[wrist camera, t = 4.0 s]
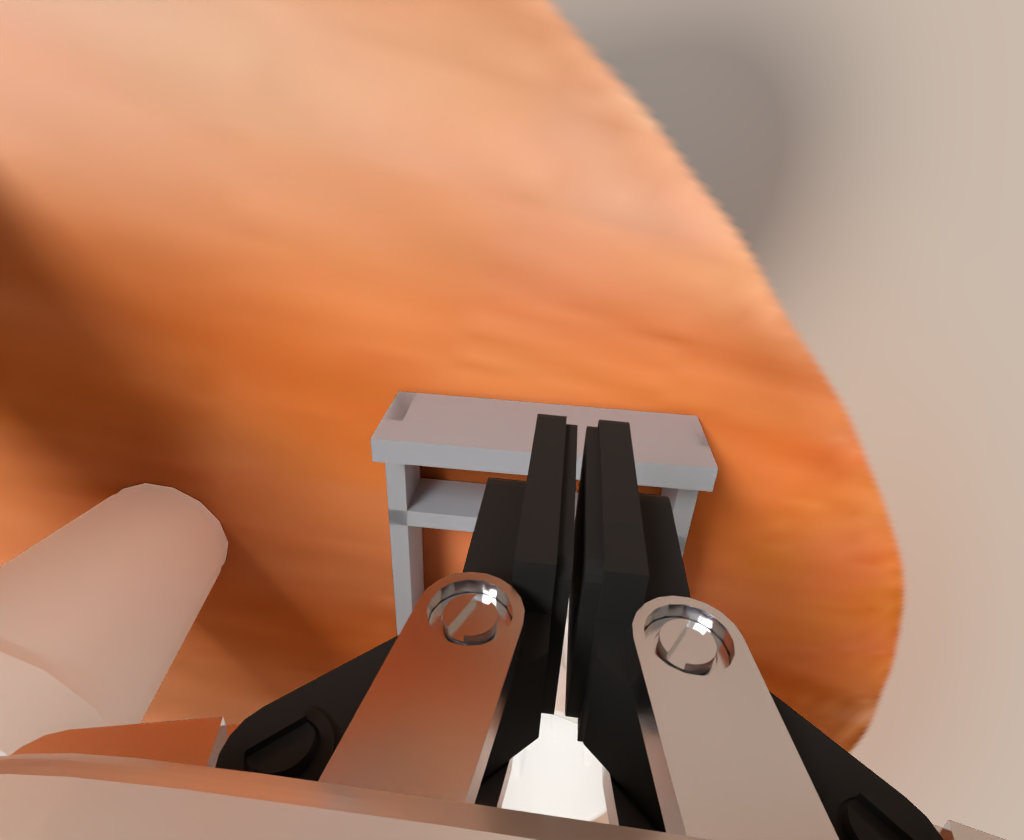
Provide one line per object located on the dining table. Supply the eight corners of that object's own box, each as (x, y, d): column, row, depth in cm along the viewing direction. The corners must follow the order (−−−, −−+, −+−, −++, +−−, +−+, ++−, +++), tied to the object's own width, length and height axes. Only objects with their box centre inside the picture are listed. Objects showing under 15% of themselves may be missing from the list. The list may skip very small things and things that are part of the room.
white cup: (639, 554, 28) (670, 756, 20) (563, 649, 32) (560, 855, 23) (493, 489, 27) (456, 672, 18) (431, 595, 31) (377, 790, 22)
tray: (398, 391, 25) (370, 438, 21) (697, 415, 24) (718, 468, 21) (412, 645, 33) (393, 710, 29) (639, 669, 32) (647, 739, 28)
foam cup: (46, 458, 29) (-296, 693, 17) (222, 453, 28) (-21, 699, 16) (124, 599, 33) (-108, 859, 22) (278, 599, 32) (118, 873, 21)
